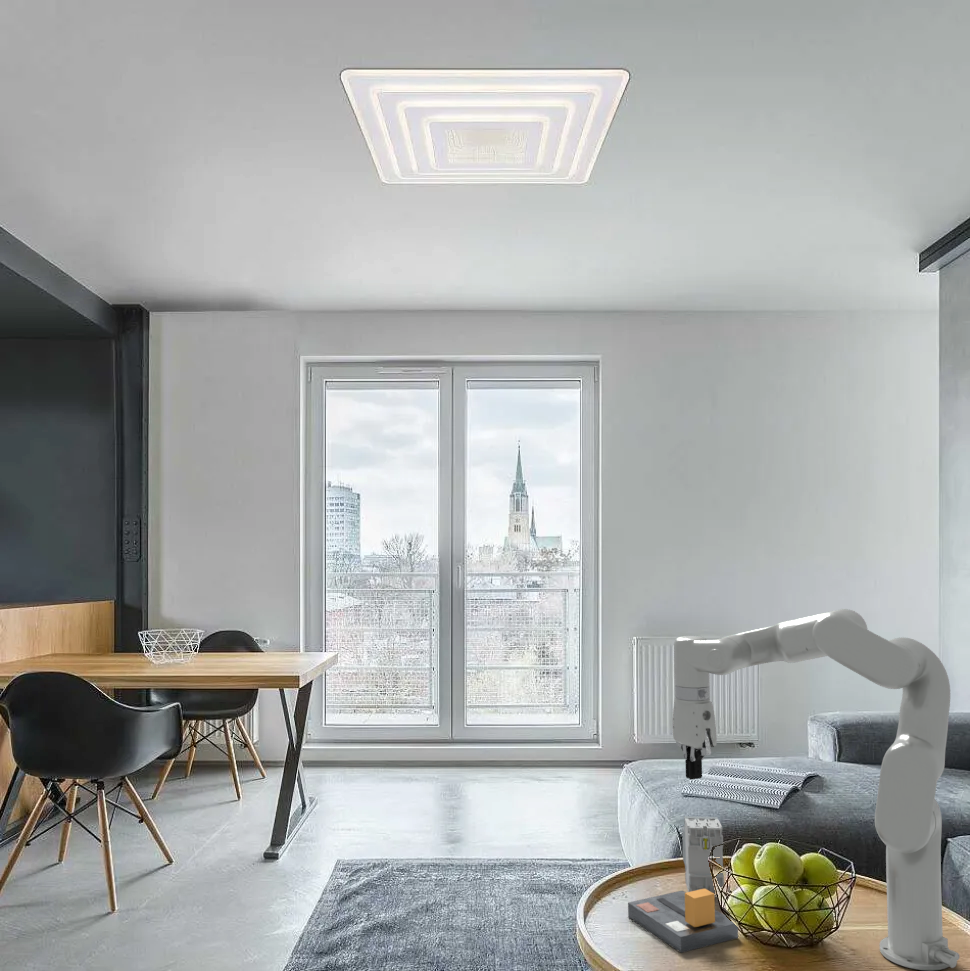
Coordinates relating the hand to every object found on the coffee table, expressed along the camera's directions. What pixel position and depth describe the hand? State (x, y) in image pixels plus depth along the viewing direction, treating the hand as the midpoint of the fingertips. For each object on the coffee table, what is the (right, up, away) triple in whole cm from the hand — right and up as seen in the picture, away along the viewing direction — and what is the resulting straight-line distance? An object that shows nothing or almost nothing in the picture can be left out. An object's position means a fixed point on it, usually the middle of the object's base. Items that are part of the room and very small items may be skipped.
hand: (693, 777), depth 203 cm
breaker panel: (-5, -27, -12) cm, 30 cm away
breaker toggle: (-3, -23, -18) cm, 29 cm away
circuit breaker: (+4, -28, +10) cm, 30 cm away
